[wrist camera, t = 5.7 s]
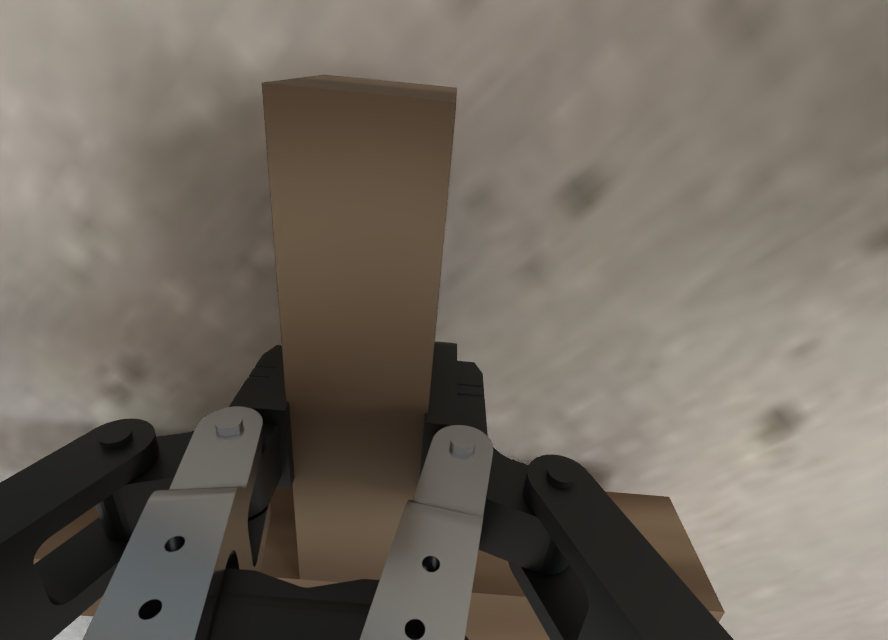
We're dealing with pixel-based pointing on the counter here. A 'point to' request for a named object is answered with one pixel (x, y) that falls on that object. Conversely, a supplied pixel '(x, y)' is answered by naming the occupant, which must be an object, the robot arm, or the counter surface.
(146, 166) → the counter surface
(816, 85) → the counter surface
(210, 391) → the counter surface
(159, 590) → the robot arm
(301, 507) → the scraper
